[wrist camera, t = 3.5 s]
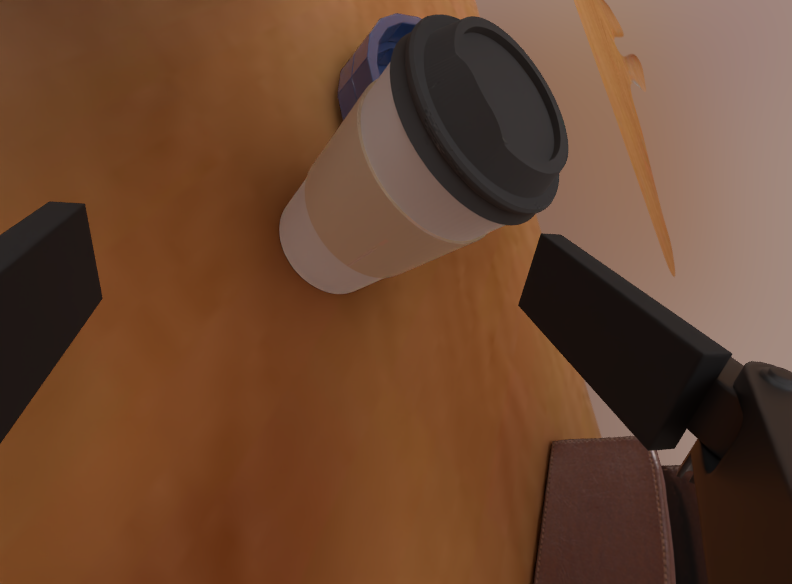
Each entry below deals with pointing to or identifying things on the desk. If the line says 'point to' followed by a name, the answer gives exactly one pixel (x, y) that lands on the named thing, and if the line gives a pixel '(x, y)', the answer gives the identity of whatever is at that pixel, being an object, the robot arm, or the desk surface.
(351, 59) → the bowl
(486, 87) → the coffee cup
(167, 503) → the desk surface
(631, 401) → the robot arm
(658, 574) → the letter holder
